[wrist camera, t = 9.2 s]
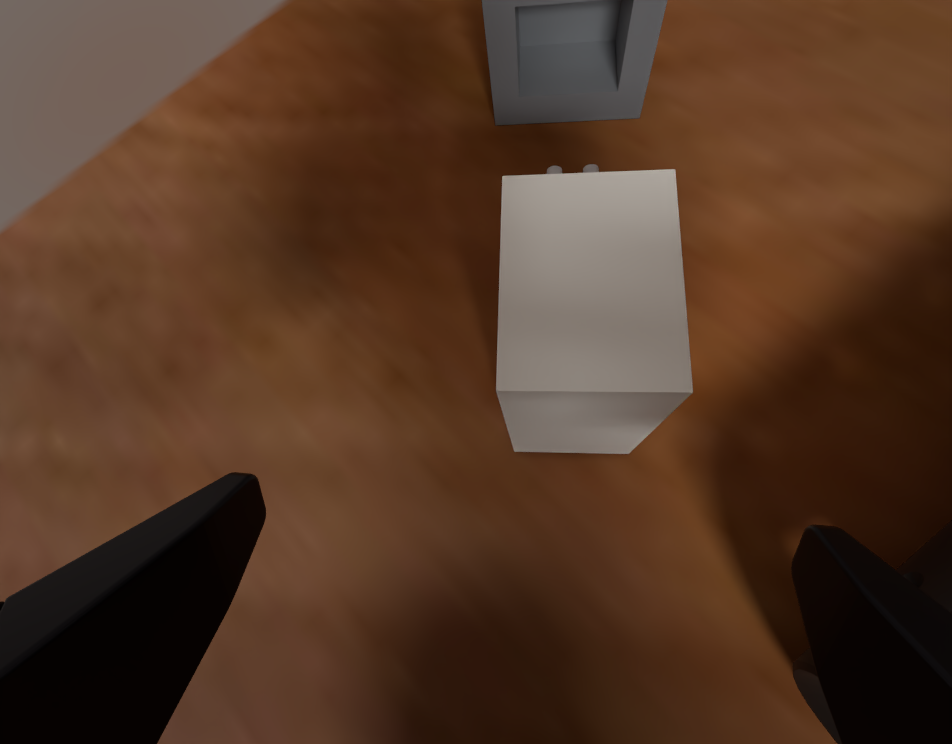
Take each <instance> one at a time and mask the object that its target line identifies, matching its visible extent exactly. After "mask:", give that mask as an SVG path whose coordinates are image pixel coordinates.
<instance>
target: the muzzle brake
mask: <svg viewBox="0 0 952 744" xmlns="http://www.w3.org/2000/svg"><path fill="white" fill-rule="evenodd" d="M896 571H897V572H899V573H900V574H901V575H903V576H904V577H905V578H907V579H908V580H909V581H910V582H912V583H913V584H914V585H916V586H917V587H918V588H920V589H921V590H922V591H924V592H925V593H926V594H928V595H929V596H930V597H931V598H933V599H934V600H935V601H937V602H938V603H939V604H941V605H942V606H943V607H945V608H946V609H947V610H948V611H950V612H951V613H952V521H950V522H949V523H948V524H947V525H946V526H945V527H944V528H943V529H941V530H940V531H939V532H938V533H937V534H936V535H935V536H934V537H933V538H931V539H930V540H929V541H928V542H927V543H926V544H925V545H924V546H923V547H921V548H920V549H919V550H918V551H917V552H916V553H915V554H914V555H912V556H911V557H910V558H909V559H908V560H907V561H906V562H905V563H904V564H902V565H901V566H900V567H899V568H898V569H897V570H896ZM793 677H794V680H795V682H796V684H797V687H798V689H799V691H800V692H801V694H802V695H803V697H804V699H805V700H806V702H807V704H808V705H809V706H810V708H811V709H812V711H813V712H814V713H815V715H816V716H817V718H818V719H819V721H820V722H821V723H822V724H823V726H824V727H825V728H826V730H827V731H828V732H829V733H830V735H831V736H832V737H833V738H834V740H835V741H836V742H837V743H838V744H842V742H841V740H840V737H839V734H838V732H837V729H836V726H835V723H834V721H833V718H832V715H831V713H830V710H829V707H828V704H827V702H826V699H825V696H824V694H823V691H822V688H821V685H820V682H819V679H818V676H817V673H816V669H815V665H814V662H813V658H812V654H811V650H810V648H809V649H808V650H806V651H805V652H804V653H803V654H802V655H801V656H800V657H799V658H797V659H796V660H795V661H794V662H793Z"/></svg>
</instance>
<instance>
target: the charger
mask: <svg viewBox="0 0 952 744" xmlns="http://www.w3.org/2000/svg"><path fill="white" fill-rule="evenodd" d="M496 393H497V396H498V399H499V402H500V406H501V409H502V412H503V416H504V419H505V422H506V426H507V429H508V432H509V436H510V439H511V442H512V446H513V449H514V452H558V453H604V454H629V453H630V452H631V451H632V450H633V449H634V448H635V447H636V446H637V445H638V444H639V443H641V442H642V441H643V440H644V439H645V438H646V437H647V436H648V435H649V434H650V433H651V432H652V431H653V430H654V429H655V428H656V427H657V426H658V425H659V424H660V423H662V422H663V421H664V420H665V419H666V418H667V417H668V416H669V415H670V414H671V413H672V412H673V411H674V410H675V409H676V408H677V407H678V406H679V405H680V404H681V403H682V402H684V401H685V400H686V399H687V398H688V397H689V396H690V395H691V394H692V393H693V387H692V375H691V362H690V350H689V337H688V324H687V312H686V299H685V287H684V274H683V262H682V249H681V236H680V224H679V211H678V199H677V186H676V173H675V169H668V170H642V171H616V172H599V167H598V166H597V165H595V164H589V165H586V166H585V167H584V168H583V173H565V174H562V168H561V167H559V166H551V167H549V168H548V169H547V174H539V175H514V176H502V203H501V237H500V271H499V306H498V340H497V374H496Z"/></svg>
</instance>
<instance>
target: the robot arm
mask: <svg viewBox="0 0 952 744" xmlns="http://www.w3.org/2000/svg"><path fill="white" fill-rule="evenodd" d="M265 518H266V508H265V504H264V500H263V496H262V492H261V489H260V485H259V481H258V478H257V477H256V476H255V475H253V474H248V473H237V472H234V473H229V474H227V475H225V476H224V477H222V478H220V479H218V480H217V481H215V482H213V483H211V484H209V485H208V486H206V487H204V488H202V489H201V490H199V491H197V492H195V493H193V494H192V495H190V496H188V497H186V498H184V499H183V500H181V501H179V502H177V503H176V504H174V505H172V506H170V507H168V508H167V509H165V510H163V511H161V512H159V513H158V514H156V515H154V516H152V517H151V518H149V519H147V520H145V521H143V522H142V523H140V524H138V525H136V526H134V527H133V528H131V529H129V530H127V531H126V532H124V533H122V534H120V535H118V536H117V537H115V538H113V539H111V540H109V541H108V542H106V543H104V544H102V545H101V546H99V547H97V548H95V549H93V550H92V551H90V552H88V553H86V554H84V555H83V556H81V557H79V558H77V559H76V560H74V561H72V562H70V563H68V564H67V565H65V566H63V567H61V568H59V569H58V570H56V571H54V572H52V573H50V574H49V575H47V576H45V577H43V578H42V579H40V580H38V581H36V582H34V583H33V584H31V585H29V586H27V587H25V588H24V589H22V590H20V591H18V592H17V593H15V594H13V595H11V596H9V597H8V598H7V599H6V600H5V602H0V744H157V743H158V741H159V739H160V737H161V735H162V733H163V731H164V729H165V728H166V726H167V724H168V722H169V720H170V718H171V716H172V714H173V713H174V711H175V709H176V707H177V705H178V703H179V701H180V699H181V697H182V696H183V694H184V692H185V690H186V688H187V686H188V684H189V682H190V681H191V679H192V677H193V675H194V673H195V671H196V669H197V667H198V665H199V664H200V662H201V660H202V658H203V656H204V654H205V652H206V650H207V649H208V647H209V645H210V643H211V641H212V639H213V637H214V635H215V633H216V632H217V630H218V628H219V626H220V624H221V622H222V620H223V618H224V616H225V615H226V613H227V611H228V609H229V607H230V605H231V602H232V600H233V598H234V596H235V593H236V591H237V589H238V586H239V584H240V581H241V579H242V577H243V574H244V572H245V569H246V567H247V564H248V562H249V559H250V557H251V554H252V552H253V550H254V547H255V545H256V542H257V540H258V537H259V535H260V532H261V530H262V527H263V525H264V522H265ZM791 571H792V578H793V582H794V586H795V590H796V594H797V598H798V602H799V606H800V610H801V614H802V618H803V622H804V626H805V630H806V634H807V638H808V642H809V646H810V650H811V654H812V658H813V662H814V665H815V669H816V673H817V676H818V679H819V682H820V685H821V688H822V691H823V694H824V696H825V699H826V702H827V704H828V707H829V710H830V713H831V715H832V718H833V721H834V723H835V726H836V729H837V732H838V734H839V737H840V740H841V742H842V744H952V613H951V612H950V611H948V610H947V609H946V608H945V607H943V606H942V605H941V604H939V603H938V602H937V601H935V600H934V599H933V598H931V597H930V596H929V595H928V594H926V593H925V592H924V591H922V590H921V589H920V588H918V587H917V586H916V585H914V584H913V583H912V582H910V581H909V580H908V579H907V578H905V577H904V576H903V575H901V574H900V573H899V572H897V571H896V570H895V569H893V568H892V567H891V566H890V565H888V564H887V563H886V562H884V561H883V560H882V559H880V558H879V557H878V556H876V555H875V554H874V553H873V552H871V551H870V550H869V549H867V548H866V547H865V546H863V545H862V544H861V543H859V542H858V541H857V540H855V539H854V538H853V537H852V536H850V535H849V534H848V533H846V532H845V531H844V530H842V529H840V528H838V527H834V526H824V525H809V526H808V527H807V528H806V529H805V531H804V533H803V535H802V538H801V540H800V543H799V545H798V548H797V550H796V553H795V555H794V558H793V561H792V567H791Z"/></svg>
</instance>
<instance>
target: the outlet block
mask: <svg viewBox="0 0 952 744" xmlns="http://www.w3.org/2000/svg"><path fill="white" fill-rule="evenodd" d="M666 4H667V0H482V7H483V17H484V26H485V35H486V44H487V53H488V62H489V72H490V81H491V90H492V99H493V108H494V118H495V125H513V124H533V123H553V122H573V121H593V120H613V119H633V118H640V114H641V110H642V105H643V101H644V97H645V93H646V88H647V84H648V80H649V76H650V72H651V67H652V63H653V59H654V55H655V50H656V46H657V42H658V38H659V33H660V29H661V25H662V21H663V17H664V12H665V8H666Z"/></svg>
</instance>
